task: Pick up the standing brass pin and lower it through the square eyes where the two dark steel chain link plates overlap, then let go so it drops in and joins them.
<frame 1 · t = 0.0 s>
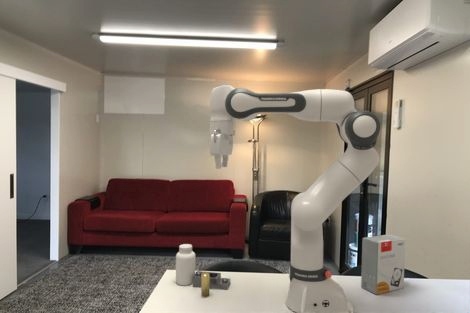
hand: (221, 167, 115), 48 cm above the table, tool pointing down, fingers open, 8 cm apart
pill bottle: (185, 282, 129), on the table
chain end b: (207, 284, 126), on the table
chain end a: (216, 285, 125), on the table
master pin: (205, 295, 117), on the table
hard drive box: (382, 288, 123), on the table
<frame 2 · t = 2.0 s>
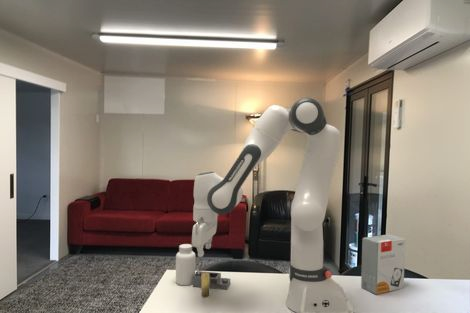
hand: (204, 252, 117), 16 cm above the table, tool pointing down, fingers open, 8 cm apart
nothing on the table moved.
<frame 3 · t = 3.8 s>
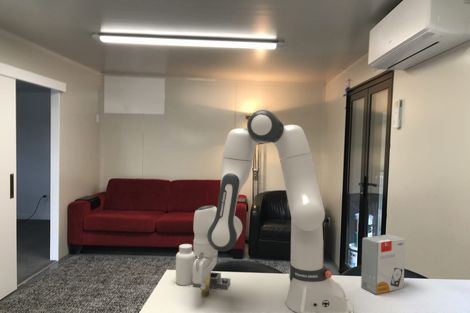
hand: (205, 285, 117), 4 cm above the table, tool pointing down, fingers closed on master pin, 3 cm apart
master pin: (205, 295, 117), on the table, touching gripper
everything else where it was.
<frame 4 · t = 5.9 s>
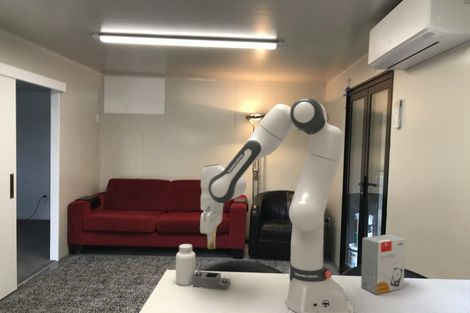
hand: (211, 239, 125), 19 cm above the table, tool pointing down, fingers closed on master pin, 3 cm apart
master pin: (211, 247, 125), point 15 cm above the table, touching gripper
everything else where it was.
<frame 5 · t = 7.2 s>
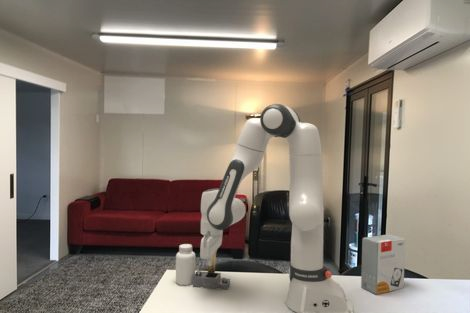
hand: (211, 262, 126), 9 cm above the table, tool pointing down, fingers closed on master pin, 3 cm apart
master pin: (211, 271, 126), point 5 cm above the table, touching gripper
everything else where it was.
when the fingers open (6 cm above the table, at t = 8.1 s): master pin drops 2 cm, resting in chain end a.
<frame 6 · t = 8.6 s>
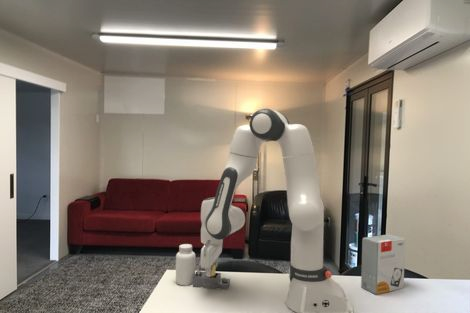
hand: (211, 271, 126), 6 cm above the table, tool pointing down, fingers open, 8 cm apart
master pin: (211, 285, 126), resting in chain end a
everything else where it was.
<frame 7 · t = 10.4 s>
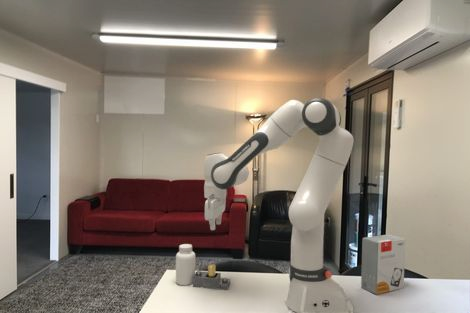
hand: (215, 226, 127), 23 cm above the table, tool pointing down, fingers open, 8 cm apart
nothing on the table moved.
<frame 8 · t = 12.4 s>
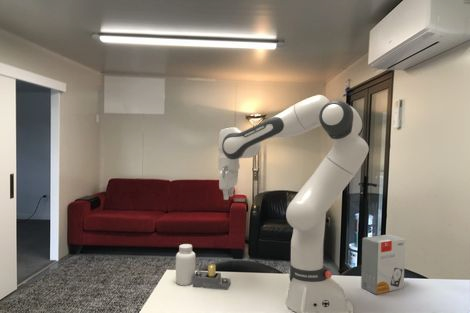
hand: (228, 197, 133), 34 cm above the table, tool pointing down, fingers open, 8 cm apart
nothing on the table moved.
at the end: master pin 0.1 cm from the target spot, resting in chain end a; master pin tilted 0°; the gripper is holding nothing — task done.
